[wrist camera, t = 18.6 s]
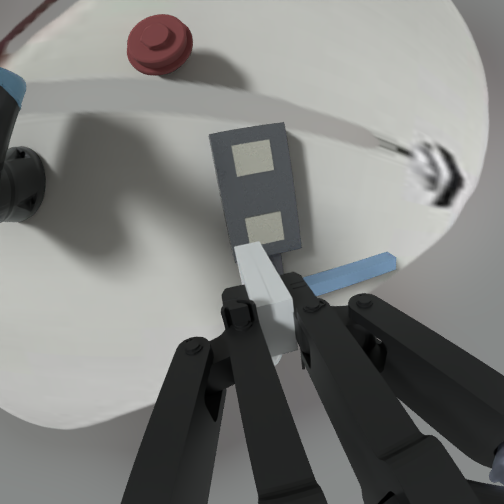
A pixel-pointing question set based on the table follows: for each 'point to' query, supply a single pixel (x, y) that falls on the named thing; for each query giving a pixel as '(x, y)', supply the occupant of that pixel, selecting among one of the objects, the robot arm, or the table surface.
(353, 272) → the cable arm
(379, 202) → the table surface
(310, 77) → the table surface
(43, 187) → the robot arm
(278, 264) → the pivot post
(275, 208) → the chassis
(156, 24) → the mechanical component
